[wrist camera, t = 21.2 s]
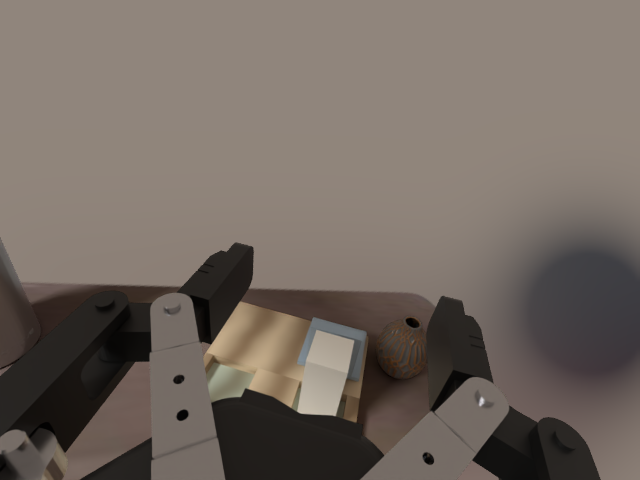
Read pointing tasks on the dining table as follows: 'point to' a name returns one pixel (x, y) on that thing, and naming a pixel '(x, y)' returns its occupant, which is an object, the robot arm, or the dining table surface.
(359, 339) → the blue l-shaped block
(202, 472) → the robot arm
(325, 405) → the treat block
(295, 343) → the puzzle board
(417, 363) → the vase
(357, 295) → the dining table surface
